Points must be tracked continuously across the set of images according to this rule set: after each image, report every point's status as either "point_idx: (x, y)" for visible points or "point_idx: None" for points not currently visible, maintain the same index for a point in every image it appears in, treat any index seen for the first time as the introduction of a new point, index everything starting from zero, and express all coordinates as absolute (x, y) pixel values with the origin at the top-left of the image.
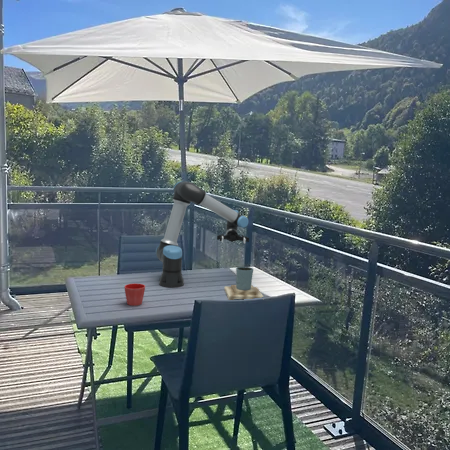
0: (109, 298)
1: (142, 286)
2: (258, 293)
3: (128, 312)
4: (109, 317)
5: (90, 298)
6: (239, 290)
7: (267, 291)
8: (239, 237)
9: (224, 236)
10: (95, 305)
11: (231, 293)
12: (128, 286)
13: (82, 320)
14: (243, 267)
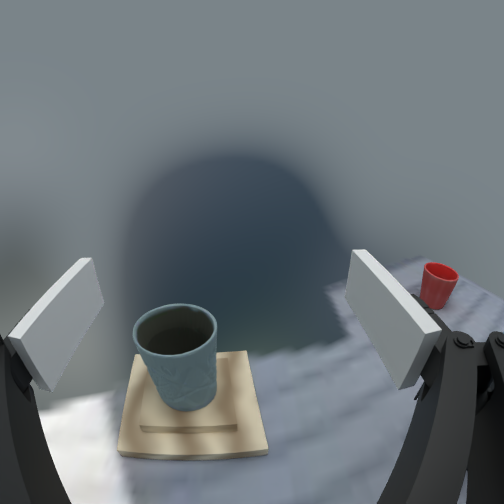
0: (477, 309)
1: (438, 280)
2: (139, 379)
3: (409, 278)
4: (414, 266)
5: (491, 302)
6: None
7: (86, 435)
8: (32, 471)
9: (431, 411)
10: (462, 287)
11: (237, 374)
12: (455, 278)
13: (428, 259)
14: (171, 357)
